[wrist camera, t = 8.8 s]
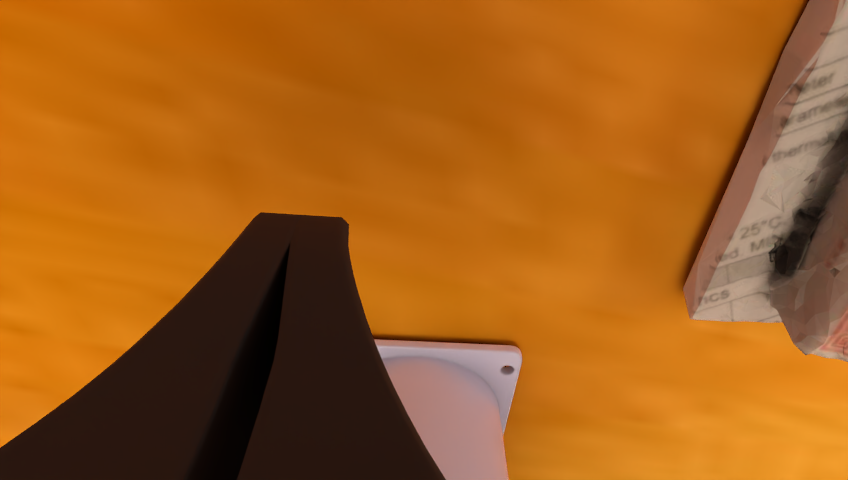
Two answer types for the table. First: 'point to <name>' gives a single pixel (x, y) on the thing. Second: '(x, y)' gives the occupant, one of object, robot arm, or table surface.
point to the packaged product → (788, 200)
